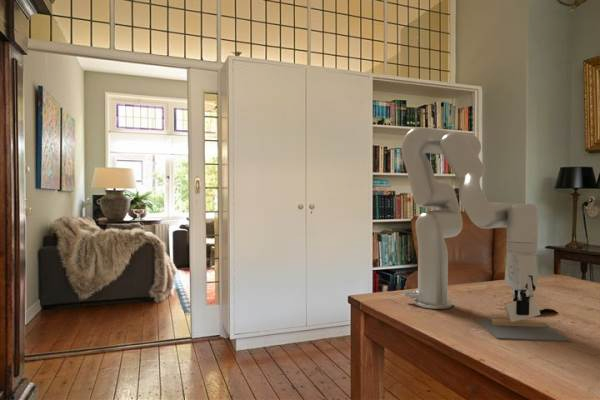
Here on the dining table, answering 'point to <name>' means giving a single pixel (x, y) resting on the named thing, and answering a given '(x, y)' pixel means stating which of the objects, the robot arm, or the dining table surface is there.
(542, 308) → the clay tablet
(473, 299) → the dining table surface
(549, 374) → the dining table surface
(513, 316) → the tile
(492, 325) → the mat
